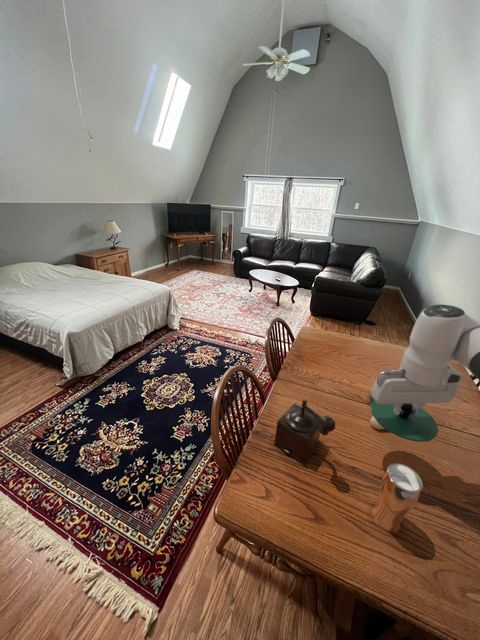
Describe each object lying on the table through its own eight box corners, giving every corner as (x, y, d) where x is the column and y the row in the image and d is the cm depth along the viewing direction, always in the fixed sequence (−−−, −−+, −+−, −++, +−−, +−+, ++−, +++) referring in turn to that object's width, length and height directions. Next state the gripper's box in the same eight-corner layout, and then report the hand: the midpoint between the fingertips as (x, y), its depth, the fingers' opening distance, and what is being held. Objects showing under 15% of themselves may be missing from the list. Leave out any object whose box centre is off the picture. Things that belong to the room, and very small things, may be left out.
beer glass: (364, 516, 63) (381, 474, 57) (377, 497, 68) (394, 456, 61) (394, 543, 59) (416, 500, 52) (407, 521, 63) (428, 479, 57)
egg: (385, 418, 91) (391, 412, 89) (391, 431, 88) (397, 425, 85) (365, 419, 91) (371, 412, 88) (371, 432, 88) (376, 425, 85)
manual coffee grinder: (271, 445, 80) (278, 398, 73) (289, 424, 88) (297, 379, 81) (320, 477, 72) (333, 428, 64) (335, 450, 80) (348, 404, 72)
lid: (410, 398, 79) (415, 384, 77) (452, 442, 65) (460, 427, 63) (359, 399, 78) (363, 385, 76) (391, 444, 64) (397, 429, 62)
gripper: (387, 378, 61) (373, 423, 67) (470, 377, 63) (449, 421, 69) (373, 362, 67) (360, 405, 72) (449, 361, 68) (431, 403, 74)
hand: (404, 413), depth 71 cm, fingers closed on lid, 2 cm apart
